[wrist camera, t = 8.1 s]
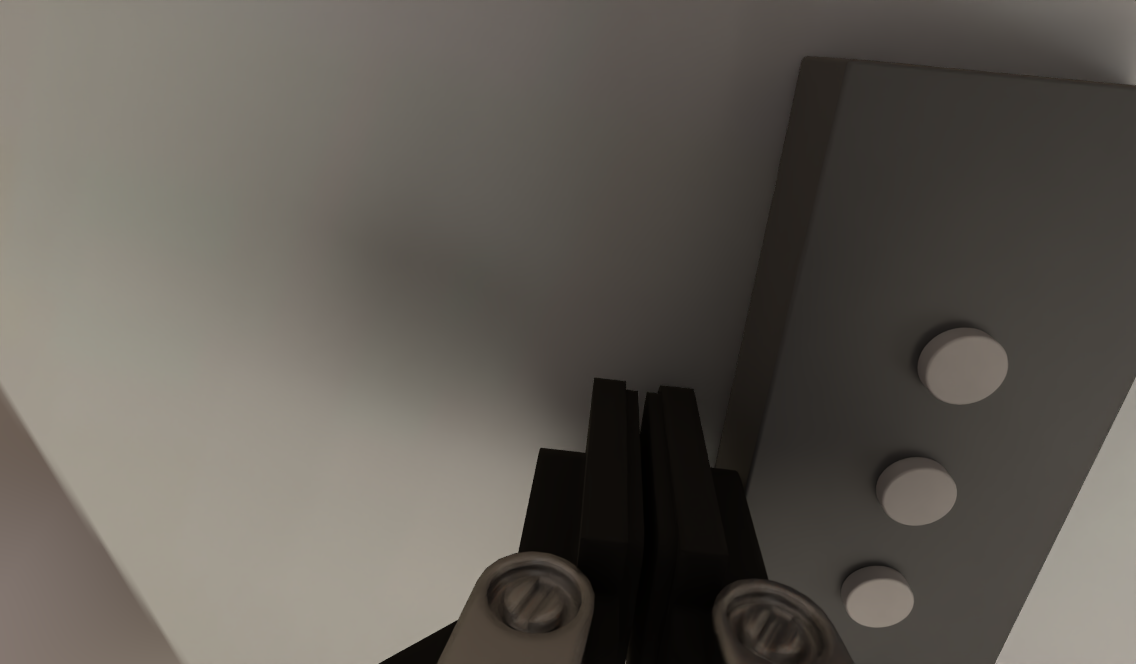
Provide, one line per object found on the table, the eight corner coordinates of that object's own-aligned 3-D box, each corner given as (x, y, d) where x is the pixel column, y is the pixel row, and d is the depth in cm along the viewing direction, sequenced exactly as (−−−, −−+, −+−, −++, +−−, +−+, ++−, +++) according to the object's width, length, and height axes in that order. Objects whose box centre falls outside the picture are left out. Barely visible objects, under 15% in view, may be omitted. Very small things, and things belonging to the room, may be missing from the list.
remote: (801, 55, 9) (856, 58, 7) (1134, 87, 9) (1301, 99, 7) (667, 687, 15) (674, 806, 12) (877, 716, 14) (923, 842, 12)
